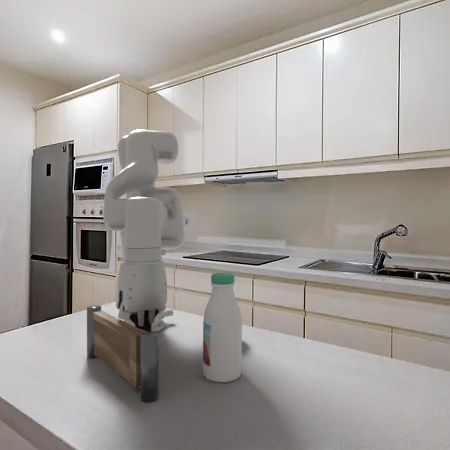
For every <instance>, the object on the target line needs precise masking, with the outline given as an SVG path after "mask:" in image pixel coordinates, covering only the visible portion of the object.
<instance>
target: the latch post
mask: <svg viewBox="0 0 450 450" xmlns="http://www.w3.org/2000/svg"><path fill="white" fill-rule="evenodd" d="M158 399H159V332H153V331H149V332H144V333H142V334H141V387H140V400H141V402H143V403H153V402H156V401H157V400H158Z"/></svg>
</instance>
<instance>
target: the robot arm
mask: <svg viewBox="0 0 450 450" xmlns="http://www.w3.org/2000/svg"><path fill="white" fill-rule="evenodd" d="M117 155H118V160H119V165H120V167H121V170H120V171H119V172H117V173H116V174H115V175H114V176H113V177H112V178H111V179H110V181H109V182H108V183H107V186H106V187H105V191H104V197H103V198H104V199H103V213H102V214H103V215H102V217H103V223H104V225H105V227H106V228H107V229H108V230H110V231H112V232H120V233H119V234H120V240H121V247H122V257H123V258H122V260H123V262H121V263H120V265H119V270H118V275H117V281H116V291H115V293H116V294H115V308H116V309H118V315H117V318H118V319H120V320H122V321H124V322H126V323H128V324H130V325H132V326H134V327H136V328H138V329H142V330H144V331H146V332H149V331H153V332H157V333H159V332H160V331H161V330H163V329H164V328H165V322H164V319H165V318H166V317H167V318H168V317H171V316H173V315H174V310H173V309H171V308H170V309H167V305H166V304H167V301H168V283H167V282H168V281H167V273H166V272H167V271H166V267H165V263H164V261H162V259H163V258H162V257H163V256H165V255H166V252H167V251H166V250H175V249H178V248H181V246H183V244H184V241H185V226H184V218H183V217H184V216H183V208H182V200H181V195H180V193H179V192H178V190H177V189H175V188H173V187H164V186H162V187H161V186H155V185H156V184H155V182H156V180H157V179H158V176H159V164H167V165H168V164H172V163H174V162H175V161H176V160H177V159H178V156H179V143H178V139H177V137H176V136H175V134H174V133H172V132H170V131H162V130H161V131H160V130H152V129H151V130H149V129H136V130H133V131H131V132H130V133H128V134H127V135H125V136H122V137H121V138H119V141H118V144H117ZM124 195H126V198H121V197H122V196H124Z"/></svg>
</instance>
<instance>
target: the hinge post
mask: <svg viewBox="0 0 450 450" xmlns="http://www.w3.org/2000/svg"><path fill="white" fill-rule="evenodd" d="M99 311H102V305H99V304H96V305H95V304H94V305H89V306H86V358H87V359H98V358H97V357H96V356H95V355H94V319H93V313H94V312H99Z"/></svg>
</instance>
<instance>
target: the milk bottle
mask: <svg viewBox="0 0 450 450" xmlns="http://www.w3.org/2000/svg"><path fill="white" fill-rule="evenodd" d="M210 282H211V287H212V289H211V293H210V297H209V299H208V301H207V304H206V306H205V308H204V313H203V321H202V322H203V323H202V324H203V325H202V326H203V327H202V335H203V336H202V371H203V376H204V377H205V379H207V380H209V381H212V382H215V383H229V382H232V381H236V380H237V379H239V378H240V376H241V374H242V368H243V365H242V364H243V363H242V362H243V355H242V353H243V351H242V349H243V345H242V344H243V333H242V332H243V325H242V324H243V323H242V322H243V320H242V312H241V309H240V305H239V303H238V301H237V298H236V296H235V291H234V286H235V274H233V273H230V272H216V273H212V274H211V276H210Z"/></svg>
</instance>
